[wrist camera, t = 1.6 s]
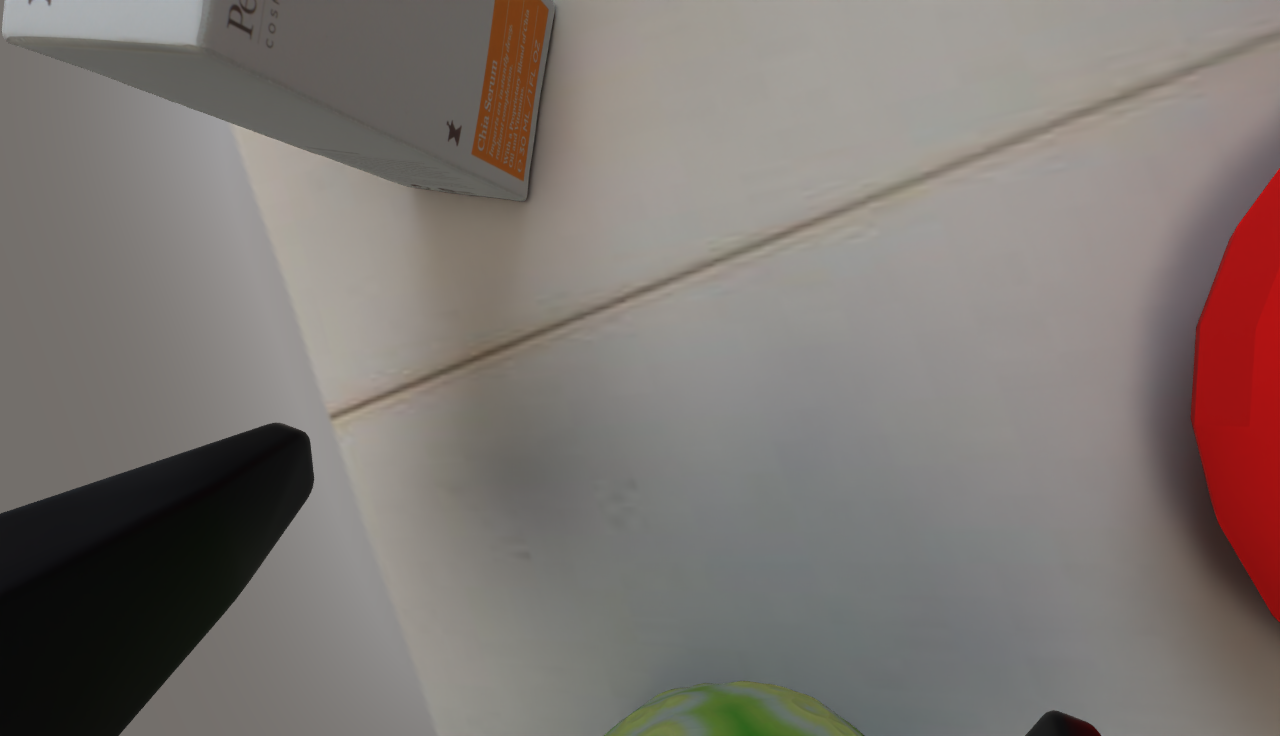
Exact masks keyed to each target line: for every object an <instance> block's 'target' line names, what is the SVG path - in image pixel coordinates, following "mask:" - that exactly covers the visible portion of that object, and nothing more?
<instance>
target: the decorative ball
mask: <svg viewBox="0 0 1280 736" xmlns="http://www.w3.org/2000/svg"><path fill="white" fill-rule="evenodd" d="M604 736H864V735H863V734H862V733H860V732H859V731H858V730H857V729H856V728H855V727H854V726H852V725H851V724H849V723H848V722H847V721H845V720H844V719H843V718H841V717H840V716H838V715H837V714H836V713H834V712H833V711H831V710H830V709H829V708H827V707H826V706H824V705H823V704H822V703H820V702H819V701H818V700H816V699H815V698H813V697H810V696H808V695H805V694H802V693H798V692H795V691H792V690H790V689H787V688H784V687H781V686H776V685H772V684H761V683H756V682H750V681H738V682H731V683H725V684H708V683H703V684H698V685H695V686H692V687H689V688H680V689H672V690H669V691H666V692H663V693H661V694H659V695H657V696H656V697H654V698H653V699H651V700H650V701H649V702H647V703H646V704H644V705H643V706H642V707H640V708H639V709H638V710H636V711H635V712H633V713H632V714H631V715H629V716H628V717H626V718H625V719H624V720H622V721H621V722H620V723H618V724H617V725H616V726H615V727H614V728H612V729H611V730H610V731H609V732H608V733H607V734H605V735H604Z"/></svg>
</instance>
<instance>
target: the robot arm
mask: <svg viewBox="0 0 1280 736" xmlns="http://www.w3.org/2000/svg"><path fill="white" fill-rule="evenodd" d="M313 483H314V473H313V463H312V454H311V445H310V439H309V437H308V435H307V434H306V433H305V432H303V431H301V430H299V429H296V428H293V427H290V426H288V425H285V424H282V423H272V424H267V425H264V426H261V427H259V428H255V429H252V430H250V431H246V432H244V433H240V434H237V435H234V436H231V437H228V438H226V439H222V440H219V441H217V442H214V443H210V444H207V445H205V446H202V447H199V448H196V449H193V450H190V451H187V452H184V453H181V454H178V455H175V456H172V457H169V458H166V459H163V460H160V461H157V462H154V463H151V464H148V465H145V466H142V467H139V468H136V469H133V470H130V471H127V472H124V473H121V474H118V475H115V476H112V477H109V478H106V479H103V480H100V481H97V482H94V483H91V484H88V485H85V486H82V487H79V488H76V489H73V490H70V491H67V492H64V493H61V494H58V495H55V496H52V497H49V498H46V499H43V500H40V501H37V502H34V503H31V504H28V505H25V506H22V507H19V508H16V509H13V510H10V511H7V512H4V513H1V514H0V736H119V735H120V733H121V732H122V731H123V730H124V729H125V728H126V726H127V725H128V724H129V723H130V722H131V721H132V720H133V718H134V717H135V716H136V715H137V714H138V713H139V711H140V710H141V709H142V708H143V707H144V706H145V704H146V703H147V702H148V701H149V700H150V699H151V698H152V696H153V695H154V694H155V693H156V692H157V690H158V689H159V688H160V687H161V686H162V685H163V684H164V682H165V681H166V680H167V679H168V678H169V677H170V675H171V674H172V673H173V672H174V671H175V670H176V668H177V667H178V666H179V665H180V664H181V663H182V662H183V660H184V659H185V658H186V657H187V656H188V655H189V654H190V652H191V651H192V650H193V649H194V647H196V645H197V644H198V643H199V642H200V641H201V640H202V638H203V637H204V636H205V635H206V634H207V633H208V632H209V630H210V629H211V628H212V627H213V626H214V625H215V623H216V622H217V621H218V620H219V619H220V618H221V616H222V615H223V614H224V613H225V612H226V611H227V609H228V608H229V607H230V606H231V604H232V603H233V602H234V601H235V600H236V598H237V597H238V596H239V594H240V593H241V592H242V591H243V589H244V588H245V587H246V585H247V584H248V583H249V581H250V580H251V578H252V577H253V575H254V574H255V573H256V571H257V570H258V568H259V567H260V566H261V564H262V562H263V561H264V560H265V558H266V557H267V556H268V554H269V553H270V551H271V550H272V548H273V547H274V546H275V544H276V543H277V541H278V540H279V538H280V537H281V536H282V534H283V533H284V531H285V530H286V529H287V527H288V526H289V524H290V523H291V521H292V520H293V519H294V517H295V516H296V514H297V513H298V511H299V510H300V509H301V507H302V506H303V504H304V503H305V501H306V500H307V498H308V497H309V495H310V493H311V490H312V488H313ZM1025 736H1101V735H1100V733H1099V732H1098V731H1097V730H1096V729H1095V728H1094V727H1093V726H1092V725H1091V724H1089V723H1088V722H1085V721H1083V720H1080V719H1078V718H1075V717H1072V716H1070V715H1067V714H1064V713H1062V712H1059V711H1050V712H1047V713H1045V714H1044V715H1043V716H1042V717H1041V718H1040V720H1039V721H1038V722H1037V723H1036V724H1035V725H1034V726H1033V728H1032V729H1031V730H1030V731H1029V732H1028V733H1027V734H1026V735H1025Z"/></svg>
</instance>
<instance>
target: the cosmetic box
mask: <svg viewBox="0 0 1280 736" xmlns="http://www.w3.org/2000/svg"><path fill="white" fill-rule="evenodd" d="M554 11H555V6H554V3H553V2H552V0H5V2H4V13H3V24H2V34H3V37H4V39H5V40H6V41H7V42H8V43H10V44H12V45H16V46H19V47H22V48H25V49H28V50H31V51H34V52H37V53H40V54H43V55H46V56H49V57H51V58H55V59H57V60H60V61H63V62H66V63H69V64H72V65H75V66H78V67H81V68H84V69H87V70H90V71H92V72H95V73H98V74H100V75H103V76H106V77H109V78H111V79H114V80H117V81H119V82H122V83H124V84H127V85H130V86H132V87H135V88H137V89H140V90H143V91H146V92H148V93H152V94H154V95H157V96H159V97H162V98H164V99H167V100H169V101H172V102H175V103H179V104H181V105H184V106H186V107H189V108H191V109H194V110H197V111H200V112H203V113H206V114H208V115H211V116H214V117H216V118H219V119H222V120H225V121H227V122H230V123H233V124H235V125H238V126H241V127H244V128H246V129H249V130H252V131H255V132H257V133H260V134H263V135H265V136H268V137H271V138H274V139H277V140H279V141H282V142H285V143H287V144H290V145H293V146H296V147H298V148H301V149H304V150H307V151H310V152H312V153H315V154H318V155H321V156H325V157H327V158H330V159H333V160H335V161H338V162H341V163H343V164H346V165H349V166H351V167H354V168H357V169H360V170H363V171H366V172H368V173H371V174H373V175H376V176H379V177H381V178H384V179H387V180H390V181H392V182H395V183H398V184H401V185H404V186H407V187H415V188H422V189H430V190H437V191H443V192H450V193H458V194H467V195H477V196H485V197H493V198H502V199H509V200H516V201H524V200H526V198H527V193H528V181H529V171H530V164H531V158H532V152H533V145H534V138H535V130H536V122H537V115H538V108H539V101H540V94H541V88H542V82H543V77H544V71H545V65H546V59H547V53H548V47H549V41H550V35H551V29H552V22H553V18H554Z"/></svg>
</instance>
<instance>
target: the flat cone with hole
mask: <svg viewBox="0 0 1280 736" xmlns="http://www.w3.org/2000/svg"><path fill="white" fill-rule="evenodd" d="M1191 421H1192V425H1193V429H1194V434H1195V438H1196V442H1197V446H1198V450H1199V454H1200V458H1201V462H1202V466H1203V470H1204V474H1205V478H1206V482H1207V486H1208V490H1209V494H1210V499H1211V503H1212V506H1213V509H1214V512H1215V515H1216V518H1217V520H1218V523H1219V525H1220V527H1221V528H1222V530H1223V532H1224V533H1225V535H1226V537H1227V539H1228V540H1229V542H1230V544H1231V545H1232V547H1233V549H1234V550H1235V552H1236V554H1237V556H1238V557H1239V559H1240V561H1241V562H1242V564H1243V566H1244V568H1245V569H1246V571H1247V573H1248V574H1249V576H1250V578H1251V579H1252V581H1253V583H1254V585H1255V586H1256V588H1257V590H1258V591H1259V593H1260V595H1261V596H1262V598H1263V600H1264V602H1265V603H1266V605H1267V607H1268V608H1269V610H1270V612H1271V614H1272V615H1273V616H1274V617H1275V618H1276V619H1277V620H1278V621H1279V622H1280V168H1279V170H1278V171H1277V173H1276V174H1275V175H1274V177H1273V178H1272V179H1271V181H1270V182H1269V183H1268V185H1267V186H1266V188H1265V189H1264V190H1263V192H1262V193H1261V194H1260V196H1259V197H1258V198H1257V200H1256V201H1255V203H1254V204H1253V205H1252V207H1251V208H1250V209H1249V211H1248V212H1247V213H1246V215H1245V216H1244V217H1243V219H1242V220H1241V222H1240V223H1239V224H1238V226H1237V227H1236V229H1235V231H1234V233H1233V234H1232V236H1231V238H1230V239H1229V242H1228V245H1227V247H1226V250H1225V253H1224V255H1223V258H1222V261H1221V263H1220V266H1219V269H1218V271H1217V274H1216V276H1215V279H1214V282H1213V284H1212V287H1211V290H1210V292H1209V295H1208V298H1207V300H1206V303H1205V306H1204V308H1203V311H1202V314H1201V316H1200V319H1199V322H1198V324H1197V327H1196V340H1195V356H1194V372H1193V388H1192V404H1191Z"/></svg>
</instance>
